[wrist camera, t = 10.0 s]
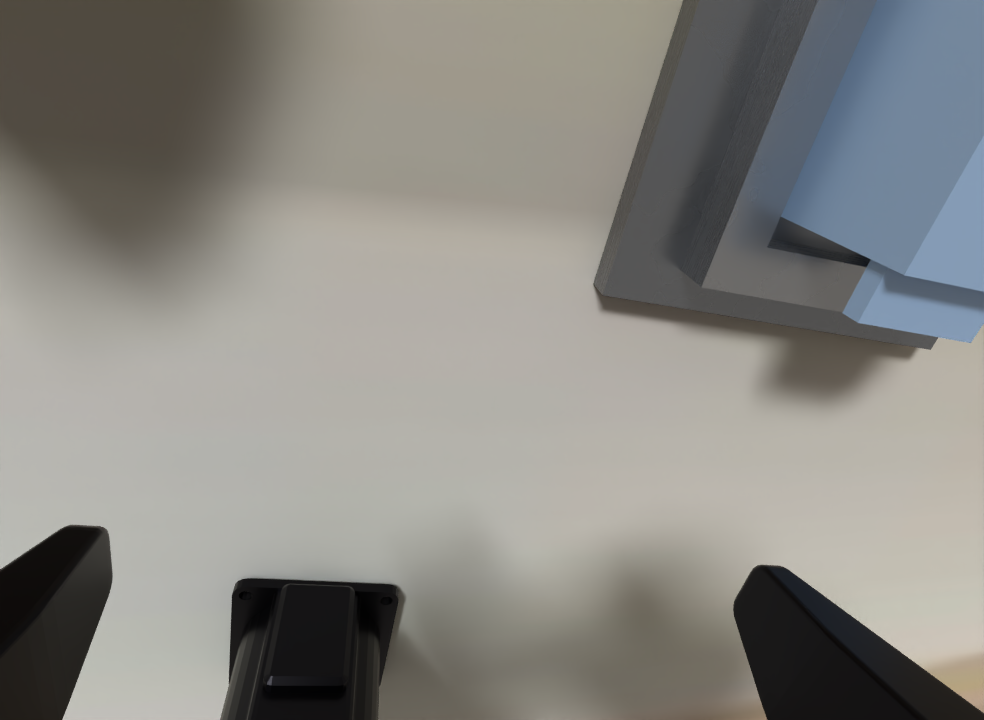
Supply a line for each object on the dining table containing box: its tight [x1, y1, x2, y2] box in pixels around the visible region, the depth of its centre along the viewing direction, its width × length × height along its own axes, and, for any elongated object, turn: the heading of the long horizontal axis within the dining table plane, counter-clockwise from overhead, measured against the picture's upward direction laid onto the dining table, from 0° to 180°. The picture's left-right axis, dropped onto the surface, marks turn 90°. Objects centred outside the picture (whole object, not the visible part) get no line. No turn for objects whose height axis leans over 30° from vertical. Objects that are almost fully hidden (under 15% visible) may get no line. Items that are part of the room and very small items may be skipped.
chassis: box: [594, 0, 938, 350], centre depth 17 cm, size 13×13×2 cm
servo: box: [781, 0, 984, 343], centre depth 15 cm, size 9×4×6 cm, turn 167°
